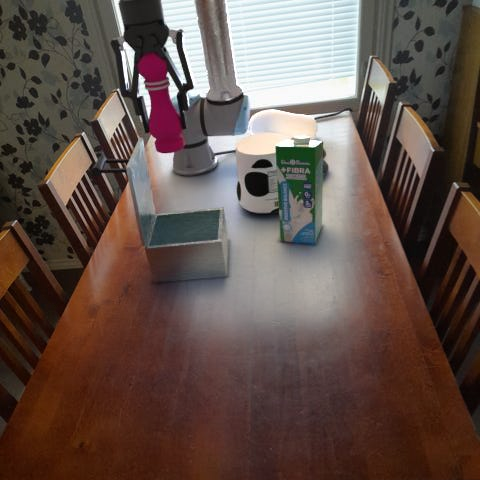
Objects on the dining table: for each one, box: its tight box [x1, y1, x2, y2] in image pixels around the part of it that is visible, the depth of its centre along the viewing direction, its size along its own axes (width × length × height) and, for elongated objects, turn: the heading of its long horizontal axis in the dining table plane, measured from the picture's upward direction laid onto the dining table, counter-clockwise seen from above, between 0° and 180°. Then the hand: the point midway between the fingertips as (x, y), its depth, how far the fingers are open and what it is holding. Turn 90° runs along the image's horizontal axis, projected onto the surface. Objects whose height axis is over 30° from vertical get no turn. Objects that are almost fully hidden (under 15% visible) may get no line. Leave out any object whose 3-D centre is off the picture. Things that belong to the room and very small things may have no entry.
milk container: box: [235, 132, 291, 215], centre depth 127 cm, size 17×17×18 cm
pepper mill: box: [138, 53, 185, 154], centre depth 91 cm, size 7×7×20 cm
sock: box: [248, 109, 319, 141], centre depth 164 cm, size 25×10×14 cm
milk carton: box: [275, 136, 324, 245], centre depth 111 cm, size 9×9×25 cm
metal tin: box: [144, 207, 229, 283], centre depth 112 cm, size 18×16×10 cm
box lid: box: [91, 137, 156, 248], centre depth 103 cm, size 19×16×10 cm
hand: (166, 128), depth 95 cm, fingers closed on pepper mill, 7 cm apart
